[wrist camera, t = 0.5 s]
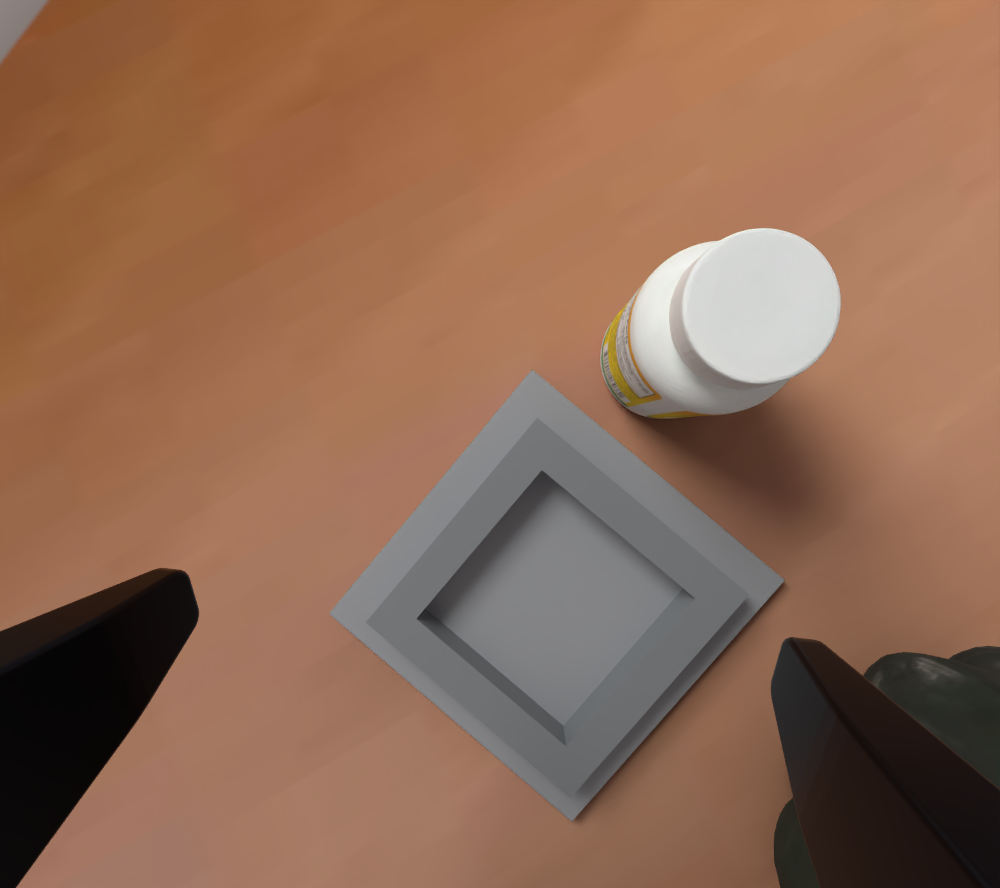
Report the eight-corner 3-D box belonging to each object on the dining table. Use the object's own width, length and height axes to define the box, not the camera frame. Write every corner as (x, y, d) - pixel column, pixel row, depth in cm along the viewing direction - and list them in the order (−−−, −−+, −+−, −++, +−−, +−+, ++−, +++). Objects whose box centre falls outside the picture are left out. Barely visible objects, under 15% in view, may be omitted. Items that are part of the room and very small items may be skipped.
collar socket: (570, 811, 23) (575, 848, 21) (333, 609, 24) (315, 626, 22) (778, 576, 23) (803, 590, 21) (531, 371, 23) (532, 365, 21)
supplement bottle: (577, 384, 23) (615, 348, 13) (635, 275, 23) (716, 160, 13) (685, 441, 23) (803, 447, 13) (745, 333, 23) (910, 259, 13)
